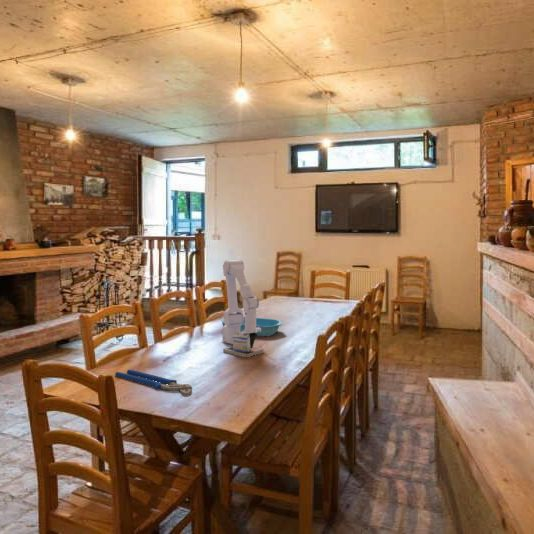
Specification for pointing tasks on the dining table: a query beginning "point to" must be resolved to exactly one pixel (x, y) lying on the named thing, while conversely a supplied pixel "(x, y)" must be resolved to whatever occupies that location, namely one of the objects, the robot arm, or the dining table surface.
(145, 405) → the dining table surface
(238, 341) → the medicine box
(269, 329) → the casserole dish
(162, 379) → the pliers
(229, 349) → the frame
